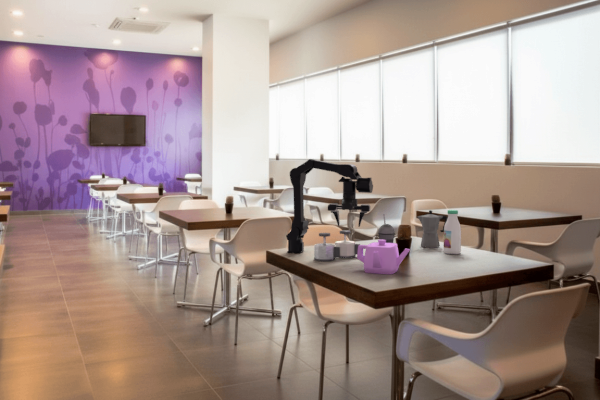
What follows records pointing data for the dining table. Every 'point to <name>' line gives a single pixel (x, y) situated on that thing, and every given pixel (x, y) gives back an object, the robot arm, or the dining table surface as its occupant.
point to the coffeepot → (430, 229)
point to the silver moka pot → (326, 252)
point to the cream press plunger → (345, 234)
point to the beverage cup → (386, 232)
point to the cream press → (347, 248)
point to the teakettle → (381, 257)
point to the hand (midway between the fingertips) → (348, 226)
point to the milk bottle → (452, 234)
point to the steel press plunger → (324, 237)
